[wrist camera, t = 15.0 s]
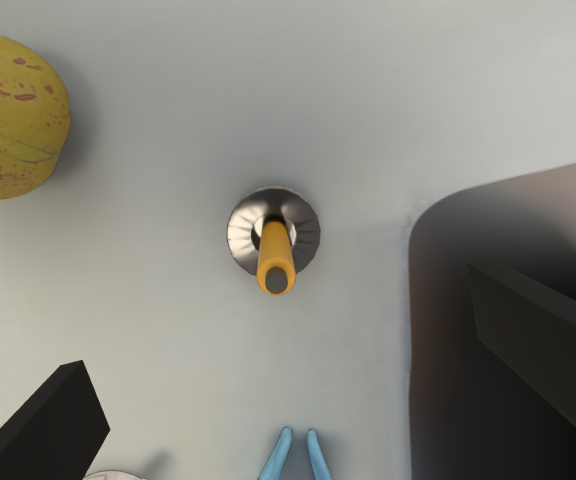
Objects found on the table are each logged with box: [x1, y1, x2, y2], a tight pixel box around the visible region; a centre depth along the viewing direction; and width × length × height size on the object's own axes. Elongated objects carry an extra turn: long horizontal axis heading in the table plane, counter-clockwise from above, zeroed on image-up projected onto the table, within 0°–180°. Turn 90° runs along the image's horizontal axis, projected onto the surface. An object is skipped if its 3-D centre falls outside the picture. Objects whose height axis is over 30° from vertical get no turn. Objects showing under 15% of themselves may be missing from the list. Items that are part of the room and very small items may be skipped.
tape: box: [227, 185, 320, 276], centre depth 35 cm, size 8×8×3 cm
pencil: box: [256, 218, 296, 295], centre depth 29 cm, size 2×2×15 cm
